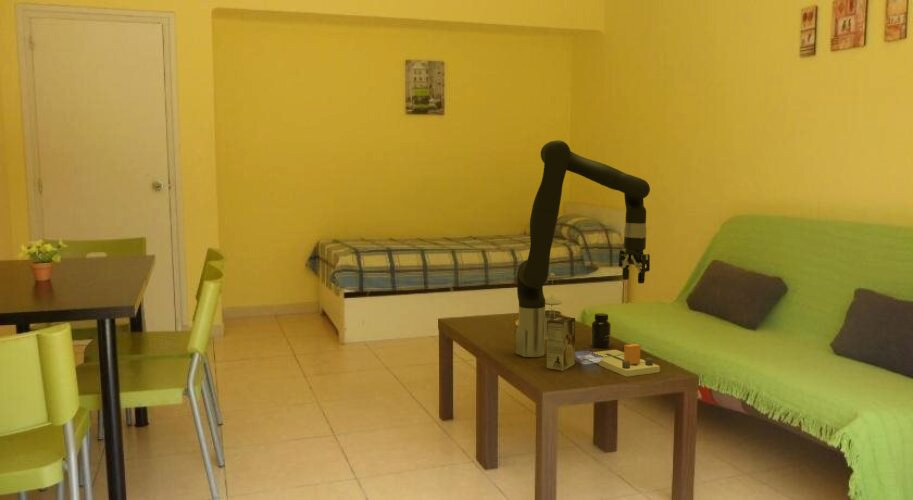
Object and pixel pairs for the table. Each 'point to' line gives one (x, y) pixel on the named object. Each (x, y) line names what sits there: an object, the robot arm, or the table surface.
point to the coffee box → (560, 343)
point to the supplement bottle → (600, 331)
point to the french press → (549, 313)
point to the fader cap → (632, 353)
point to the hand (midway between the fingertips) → (633, 281)
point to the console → (626, 364)
